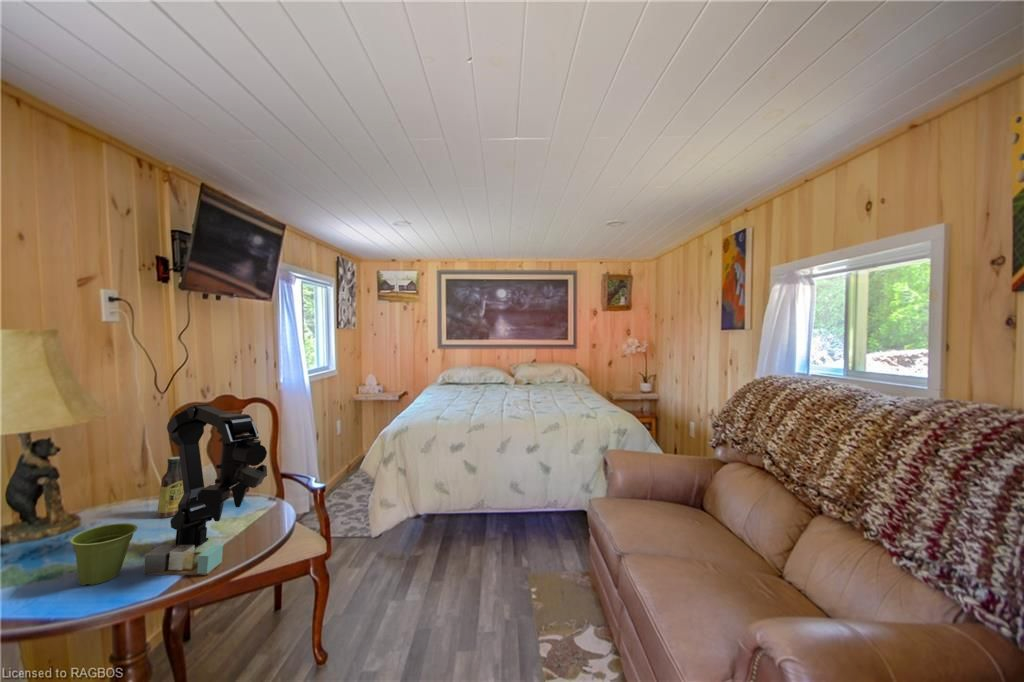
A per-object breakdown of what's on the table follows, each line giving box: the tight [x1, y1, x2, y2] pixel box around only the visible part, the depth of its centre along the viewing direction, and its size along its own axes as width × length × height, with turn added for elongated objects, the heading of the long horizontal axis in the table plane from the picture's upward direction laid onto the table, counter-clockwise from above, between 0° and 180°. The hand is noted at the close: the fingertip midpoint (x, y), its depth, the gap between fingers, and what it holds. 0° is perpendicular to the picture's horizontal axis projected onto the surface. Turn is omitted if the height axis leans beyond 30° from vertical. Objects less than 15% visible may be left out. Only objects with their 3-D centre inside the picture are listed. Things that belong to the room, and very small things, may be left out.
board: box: [143, 562, 222, 576], centre depth 102 cm, size 16×5×1 cm, turn 93°
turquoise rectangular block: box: [197, 544, 224, 574], centre depth 102 cm, size 2×6×5 cm, turn 4°
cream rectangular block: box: [166, 545, 202, 570], centre depth 102 cm, size 11×4×5 cm, turn 93°
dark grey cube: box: [143, 544, 180, 573], centre depth 102 cm, size 5×5×4 cm
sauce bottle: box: [157, 456, 184, 519], centre depth 133 cm, size 7×6×20 cm
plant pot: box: [69, 522, 138, 586], centre depth 97 cm, size 12×12×11 cm
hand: (227, 513), depth 108 cm, fingers open, 9 cm apart
